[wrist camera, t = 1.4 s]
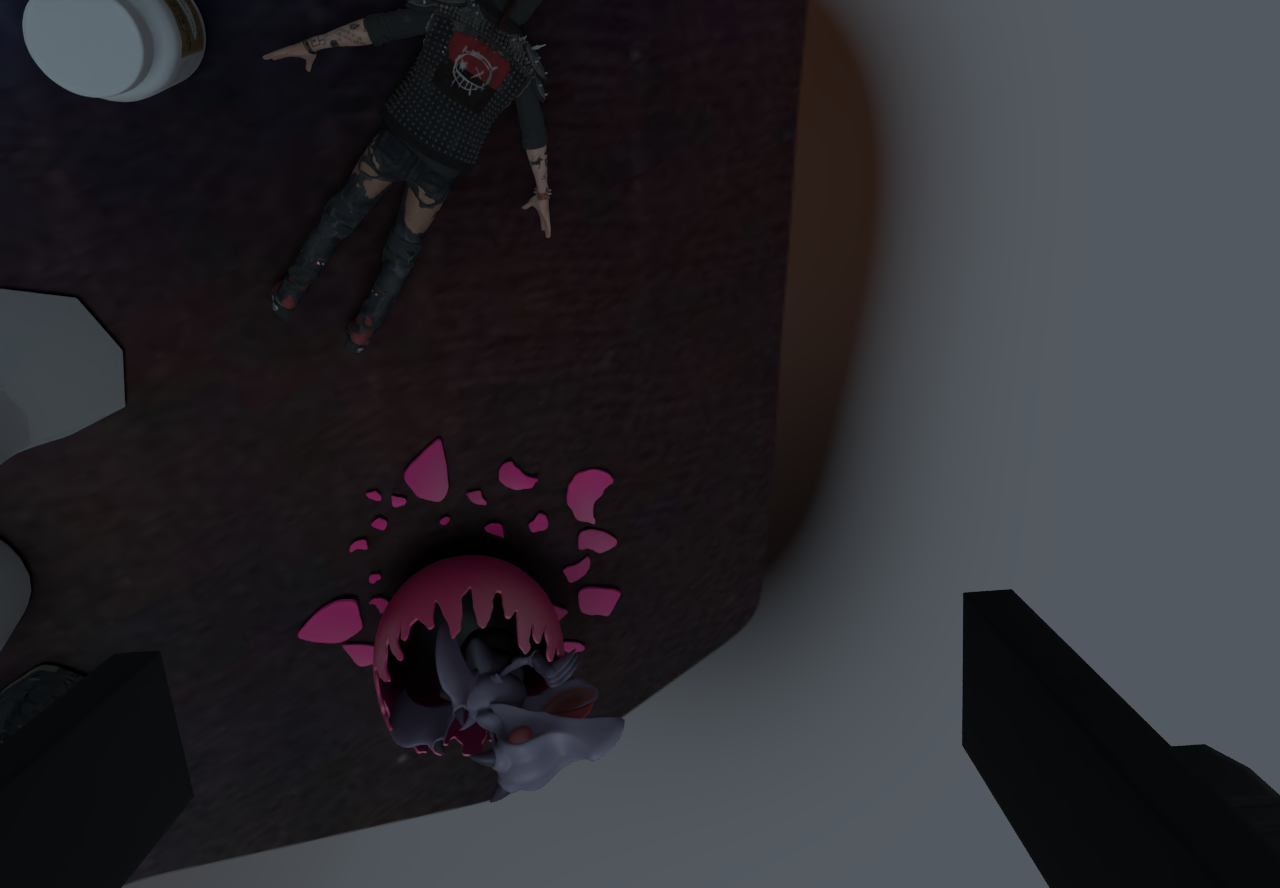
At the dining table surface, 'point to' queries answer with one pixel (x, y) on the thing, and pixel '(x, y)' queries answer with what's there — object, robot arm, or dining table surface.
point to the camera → (32, 696)
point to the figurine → (425, 134)
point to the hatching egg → (483, 646)
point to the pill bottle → (115, 44)
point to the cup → (12, 591)
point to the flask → (53, 370)
